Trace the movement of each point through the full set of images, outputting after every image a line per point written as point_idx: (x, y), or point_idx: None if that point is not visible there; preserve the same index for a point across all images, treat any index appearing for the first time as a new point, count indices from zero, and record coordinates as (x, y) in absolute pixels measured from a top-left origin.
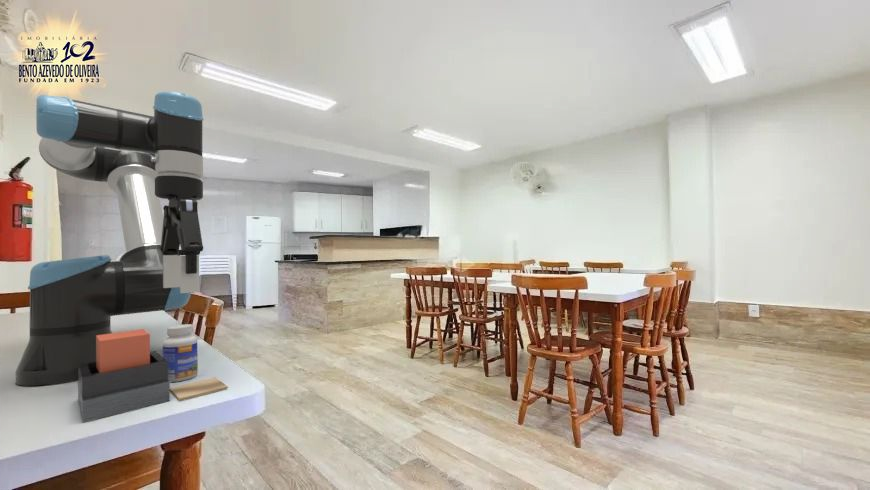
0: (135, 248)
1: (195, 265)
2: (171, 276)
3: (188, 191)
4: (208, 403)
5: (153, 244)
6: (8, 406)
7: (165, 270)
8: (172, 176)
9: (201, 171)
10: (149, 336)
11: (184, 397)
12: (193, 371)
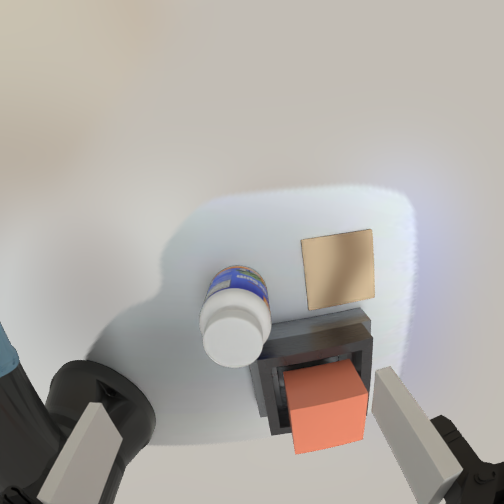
0: None
1: (460, 437)
2: (100, 453)
3: None
4: (409, 262)
5: None
6: (227, 442)
7: (102, 483)
8: None
9: None
10: (366, 390)
11: (374, 291)
12: (259, 276)
